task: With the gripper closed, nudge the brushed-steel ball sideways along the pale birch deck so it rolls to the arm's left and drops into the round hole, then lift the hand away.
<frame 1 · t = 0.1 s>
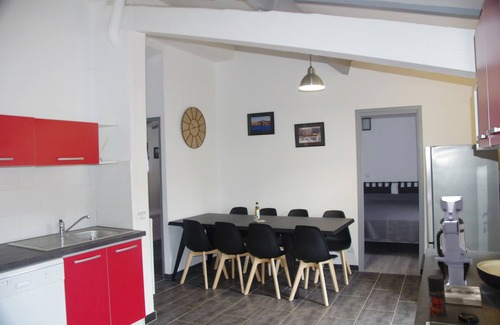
hand: (454, 279, 172), 10 cm above the counter, fingers open, 7 cm apart
ball: (448, 287, 180), point 4 cm above the counter, touching deck
coffee press: (453, 264, 230), on the counter
deck: (458, 297, 178), on the counter
spice jar: (438, 314, 162), on the counter
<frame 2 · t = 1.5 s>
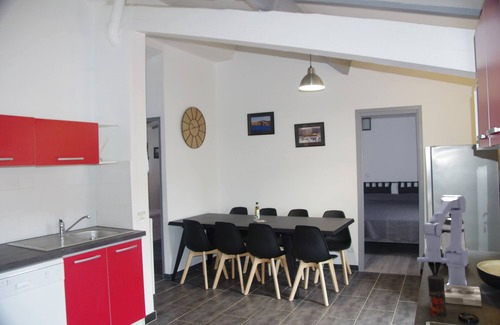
hand: (435, 278, 183), 8 cm above the counter, fingers closed
nothing on the counter moved.
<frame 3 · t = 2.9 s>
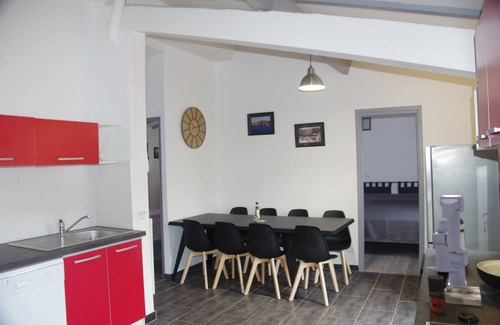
hand: (444, 288, 181), 4 cm above the counter, fingers closed, pressing on ball
ball: (448, 287, 180), point 4 cm above the counter, tilted 9°, touching deck, gripper
everything else where it was.
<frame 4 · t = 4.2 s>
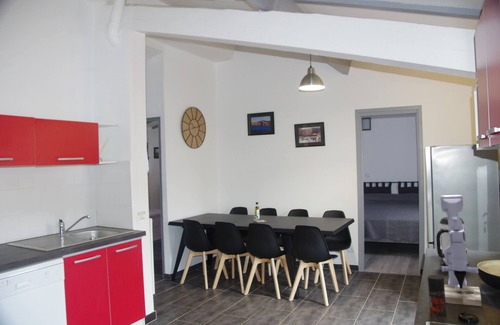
hand: (461, 288, 177), 5 cm above the counter, fingers closed, pressing on ball
ball: (459, 288, 178), point 4 cm above the counter, tilted 157°, touching deck, gripper
everything else where it was.
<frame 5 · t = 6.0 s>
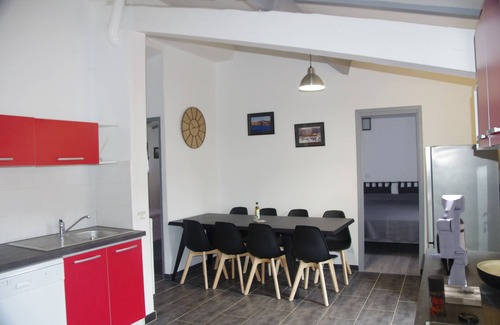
hand: (448, 275, 180), 10 cm above the counter, fingers closed
ball: (466, 289, 178), point 4 cm above the counter, tilted 108°
everything else where it was.
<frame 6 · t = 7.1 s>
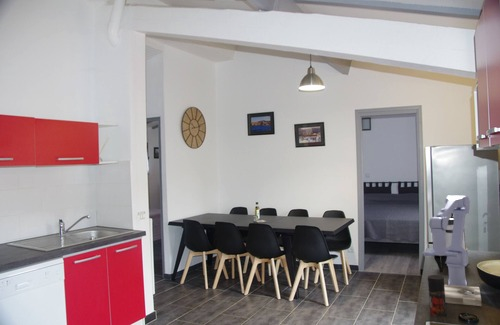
hand: (441, 271, 185), 10 cm above the counter, fingers closed
ball: (468, 294, 176), point 2 cm above the counter, tilted 163°
everything else where it was.
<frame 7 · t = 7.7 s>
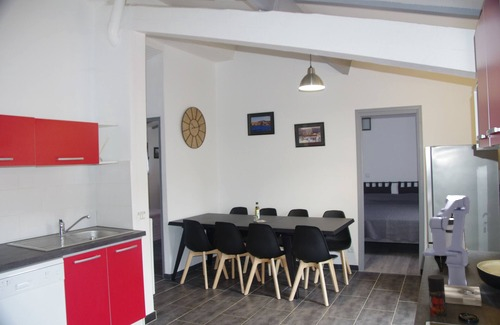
hand: (441, 271, 185), 10 cm above the counter, fingers closed
nothing on the counter moved.
at the end: ball 0.6 cm from the target spot on the deck, point 1.6 cm above the deck's base; ball touching counter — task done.
